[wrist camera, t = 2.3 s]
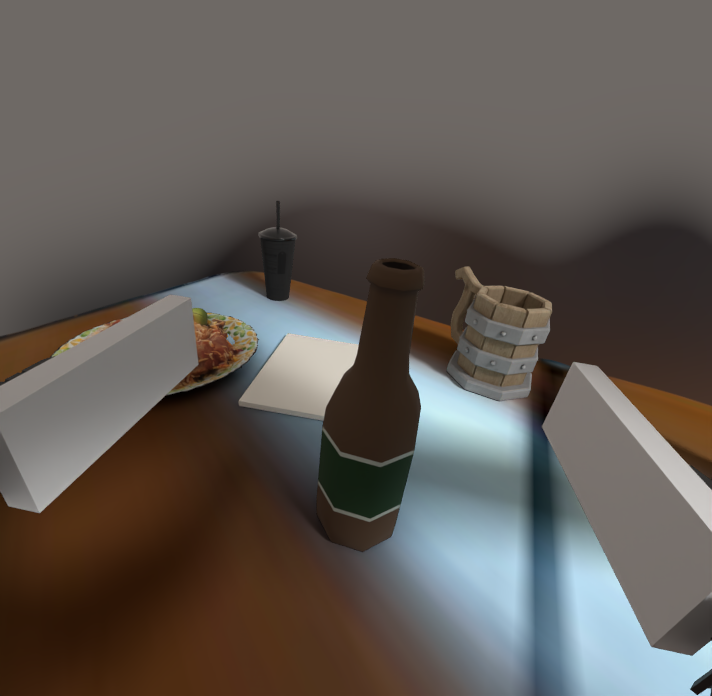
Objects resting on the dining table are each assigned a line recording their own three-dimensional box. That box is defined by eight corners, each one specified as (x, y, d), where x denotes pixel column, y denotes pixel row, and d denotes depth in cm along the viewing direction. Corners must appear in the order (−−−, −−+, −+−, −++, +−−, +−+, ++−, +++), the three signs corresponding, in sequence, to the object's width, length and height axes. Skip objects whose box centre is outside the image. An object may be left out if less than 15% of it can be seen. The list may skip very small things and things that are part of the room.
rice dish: (19, 358, 51) (3, 325, 48) (193, 304, 71) (189, 278, 68) (112, 454, 38) (98, 416, 35) (294, 355, 58) (294, 325, 55)
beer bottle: (297, 517, 32) (308, 257, 21) (349, 468, 38) (380, 243, 26) (366, 575, 28) (426, 296, 17) (412, 511, 34) (481, 269, 23)
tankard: (545, 395, 55) (585, 306, 48) (478, 405, 51) (512, 309, 43) (470, 336, 71) (492, 263, 64) (415, 340, 67) (431, 262, 60)
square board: (399, 355, 61) (400, 351, 60) (394, 433, 43) (395, 428, 43) (287, 337, 62) (287, 333, 62) (239, 405, 45) (238, 400, 44)
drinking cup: (301, 295, 81) (304, 202, 71) (284, 305, 74) (284, 205, 65) (272, 288, 83) (271, 197, 73) (253, 297, 76) (249, 199, 67)
